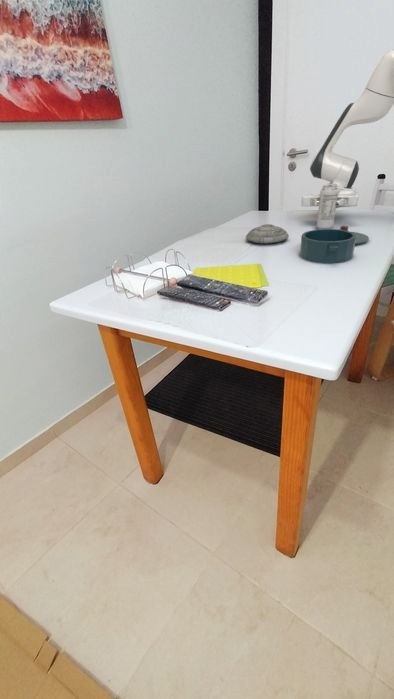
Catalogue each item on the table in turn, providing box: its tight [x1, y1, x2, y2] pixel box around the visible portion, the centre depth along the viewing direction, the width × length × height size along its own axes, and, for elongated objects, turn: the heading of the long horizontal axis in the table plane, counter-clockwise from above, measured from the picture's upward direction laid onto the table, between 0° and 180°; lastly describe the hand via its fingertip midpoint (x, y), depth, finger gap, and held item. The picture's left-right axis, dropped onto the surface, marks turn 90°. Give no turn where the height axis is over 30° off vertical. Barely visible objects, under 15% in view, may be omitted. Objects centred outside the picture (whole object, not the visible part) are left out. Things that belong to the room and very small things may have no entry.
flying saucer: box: [245, 223, 290, 244], centre depth 119 cm, size 15×15×6 cm
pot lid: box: [339, 224, 369, 245], centre depth 112 cm, size 16×16×5 cm
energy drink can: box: [316, 183, 338, 230], centre depth 124 cm, size 6×6×15 cm
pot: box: [299, 228, 356, 264], centre depth 100 cm, size 15×20×6 cm
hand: (327, 203), depth 123 cm, fingers closed on energy drink can, 6 cm apart
